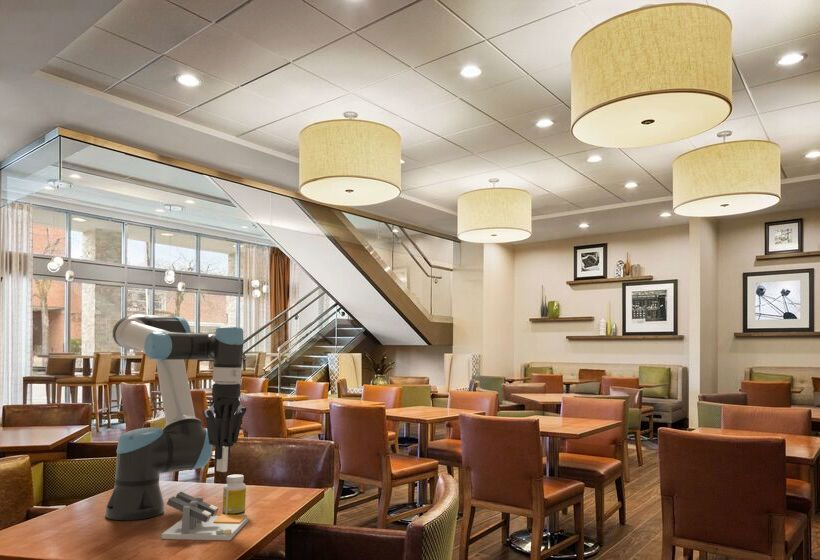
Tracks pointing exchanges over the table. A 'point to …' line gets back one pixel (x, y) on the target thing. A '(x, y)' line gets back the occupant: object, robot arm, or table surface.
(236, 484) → the pill bottle
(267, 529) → the table surface
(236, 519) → the breaker panel
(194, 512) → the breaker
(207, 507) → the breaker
